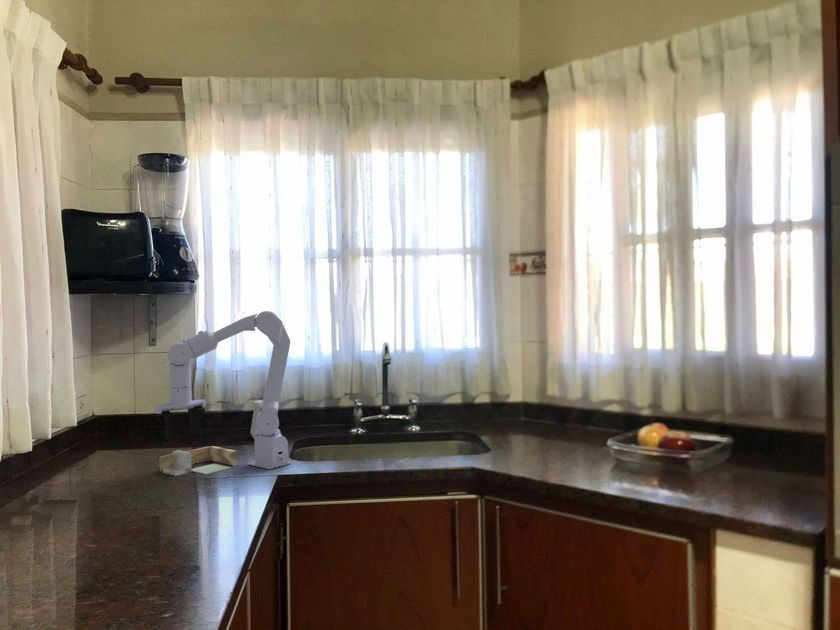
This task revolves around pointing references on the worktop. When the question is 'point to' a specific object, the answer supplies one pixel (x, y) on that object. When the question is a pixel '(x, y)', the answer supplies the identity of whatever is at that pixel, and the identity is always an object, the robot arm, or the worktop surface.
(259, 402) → the salt shaker
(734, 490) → the worktop surface
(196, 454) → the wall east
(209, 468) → the pad
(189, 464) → the bracket
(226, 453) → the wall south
